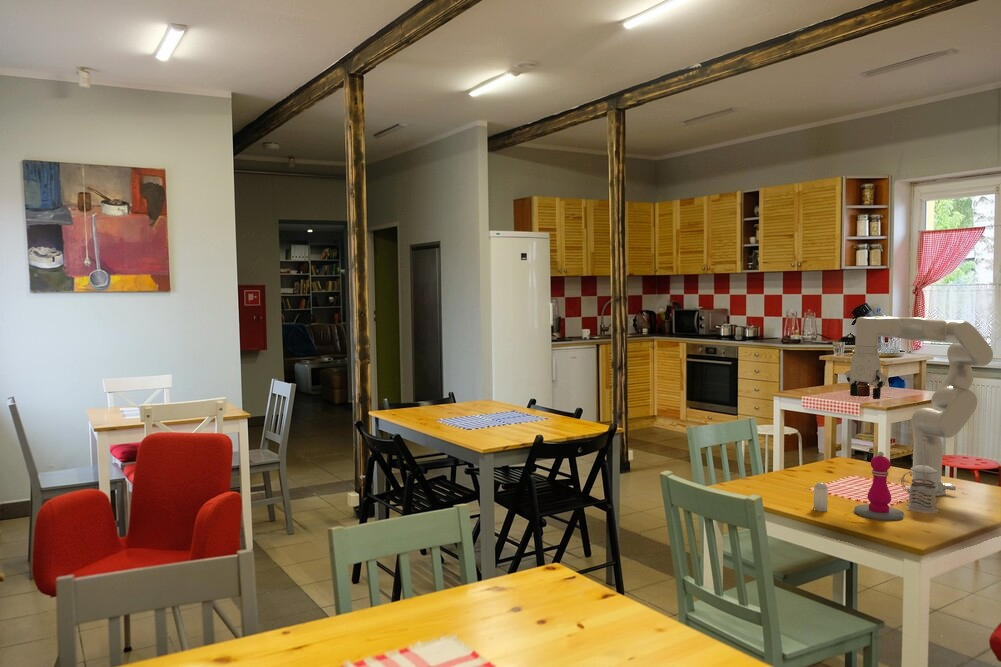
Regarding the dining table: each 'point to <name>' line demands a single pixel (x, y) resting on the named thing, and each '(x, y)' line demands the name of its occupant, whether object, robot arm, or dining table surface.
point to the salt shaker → (820, 496)
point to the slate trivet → (889, 516)
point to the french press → (922, 489)
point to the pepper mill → (879, 485)
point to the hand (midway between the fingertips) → (864, 397)
